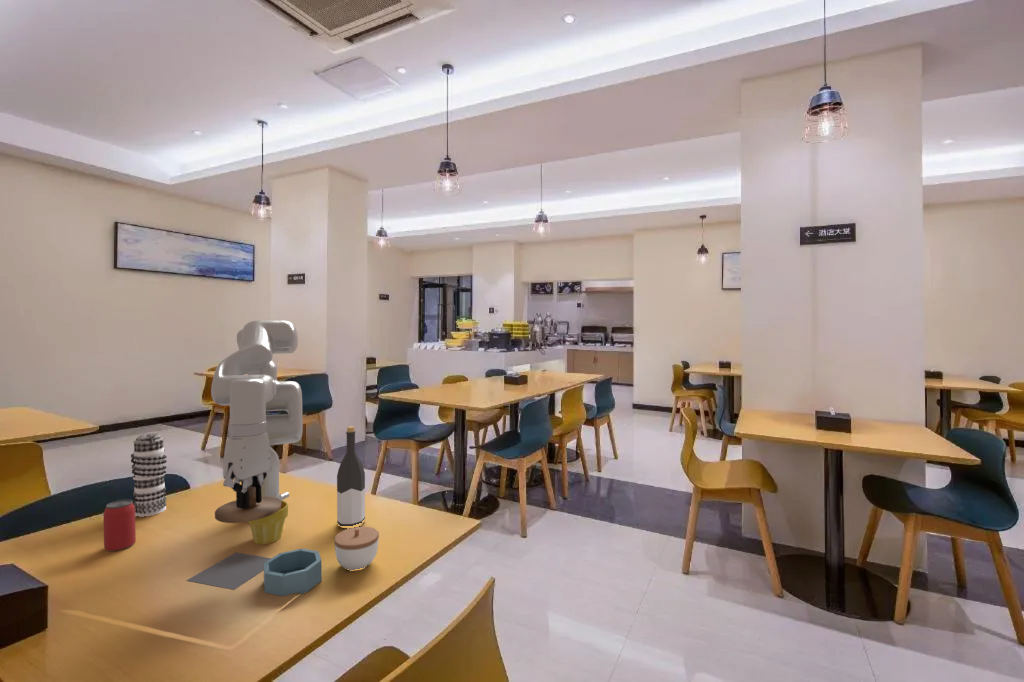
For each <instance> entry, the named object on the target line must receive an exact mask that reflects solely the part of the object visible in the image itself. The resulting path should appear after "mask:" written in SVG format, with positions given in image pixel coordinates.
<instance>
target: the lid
mask: <svg viewBox="0 0 1024 682" xmlns="http://www.w3.org/2000/svg"><path fill="white" fill-rule="evenodd" d="M247 491H248V492H249V508H247V509H244V508H237V506H236V499H235V500H232V501H229V502H227V503H225V504H222V505H220V506H219V507H217V509H215V511H214V519H215V520H216V521H218V522H220V523H226V524H227V523H228V524H229V523H230V524H238V523H239V524H240V523H246V522H247V523H248V521H253V520H258V519H261V518H264V517H267V516H270V515H272V514H274V513H276V512H277V511H278V510H280V508H281V500H280V499H278V498H276V497H270V496H262V501H261V502H260V503H256V487H255V486H249V487H247Z"/></svg>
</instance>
